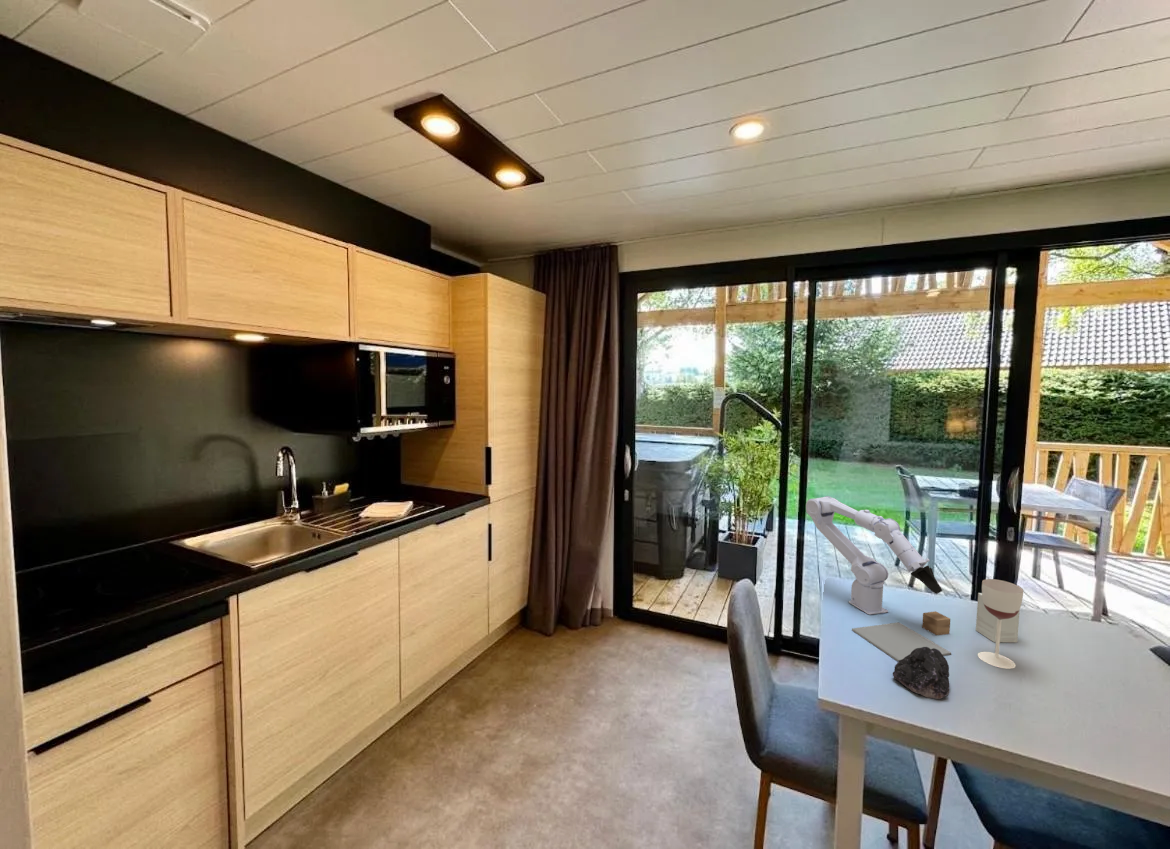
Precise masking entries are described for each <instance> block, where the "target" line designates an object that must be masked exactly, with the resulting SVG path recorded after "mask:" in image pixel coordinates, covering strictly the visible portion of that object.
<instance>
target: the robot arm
mask: <svg viewBox="0 0 1170 849" xmlns="http://www.w3.org/2000/svg"><path fill="white" fill-rule="evenodd" d="M805 513H806V514H807V515H808V516H809V517H810V518H811V519H812V521H813V523H814V525H815V528H816V529H817V530H818V531H819V532H820V533H821V534H822V535H823V536H824V537H825V539H826V540H828V541H829V542H830V544H831V545H832V546H833V547H834V548H835V549H836V550H837V551H838V552H839V553H840V554H841V556H843V557H844V558H845V559H846V560H847V561H848V562H849V563H850V564H851V567H850V572H852V573H853V576H854V577H855V580H854V581H853V582H852V584H851V592H850V594H851V595H850V600H849V601H848V603H849V604H850V605H853V606H854V607H856V608H858V609H859V611H860V610H861V612H864V613H866V614H867V615H870V616H871V615H878V614H885V613H889V610H888V609H886V608H884V607H883V596H884V595H883V594H884V585H885V581H887V579H888V578H889V571H888V569H887V567H886V566H885V565H884V564H883V563H880V562H878V561H877V560H875V559H874V558H873V557H870V556H867V555H865V554H864V553H863V552H862V551H861V550H860V549H859V547H857V546H856V545H855V544H854V542H852V541H851V540H850V539H849V538H848V537H847V536H846V535H845V534H844V533H843V532H842V531H841V530H840V529H839V528H838V527H837V526H836V525H835V524H834V523H833V520H834V517H835V514H839V515H841V516H844V517H847V518H849V519H851V520H854V524H856V525H857V526H859V527H861V528H864V529H866V530H868V531H870V532H872V533H874V536H875V537H877V538H878V539H881V540H882V541H883V542H884V543H886V544H887V546H888V547H889V548H890V549H891V551H892V552H893V553H894V554H895V556H896V557H897V558H898V560H900V562H901V563H902V565H904V567H905V568H906V570H907V572H908V573H909V572H910V576H913V578H915V579H917V580H919V581H920V582H921V583H922V584H924V585H925V587H927V588H928V589H929V590H930V591H931V592H932V593H934V594H935V595H937V594H940V593H942V592H943V589H942V587H941V586H940V584H939V582H938V580H937V579H936V577H935V575H934V571H933V568H932V567H930V565H926V564H927V563H928V562H930V561H931V560H930V559H929V558H925V559H924V558H923V556H922V555H921V554H920V553H919V552H918V551H917V550H916V548H915V547H914V546H913V545H912V543H911V542H910V541H909V540H908V539H907V537H906V536H905V535H904V534H903V533H902V532H901V527H900V524H899V523H898V522H897V521H896V520H895V519H893V518H884V517H883V516H881V515H876V514H874V513H872V512H871V511H870V510H869V509H860V510H857V509H855V508H853V507H850V506H849V505H847V504H845V503H842V502H841V501H839V500H837V499H836V498H834V497H831V496H829V495H826V496H825V495H824V497H823V496H822V497H817V498H809V499H808V500H807V501H806V503H805ZM925 565H926V566H925Z"/></svg>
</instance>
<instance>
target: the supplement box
mask: <svg viewBox="0 0 1170 849" xmlns="http://www.w3.org/2000/svg"><path fill="white" fill-rule="evenodd" d="M1020 611H1021V609H1020V610H1019V612H1018V614H1017V615H1016V616H1015V617H1013V618H1009V619H1002V621H1001V633H1000V643H1018V639H1019V638H1018V637H1019V623H1020V622H1019V621H1020ZM975 620H976V621H975V622H976V623H975V631H976V632H977V633H979V634H980V635H982V636H984V637H985V638H986V639H988V640H990V641H991V642H993V643H996V634H997V622H998V618H997V617H995V616H993V615H992V614H991V613H990V612H988V611H987V609H986V608H985V606H984V603H983V600H982V592H978V593H977V604H976V619H975Z"/></svg>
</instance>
